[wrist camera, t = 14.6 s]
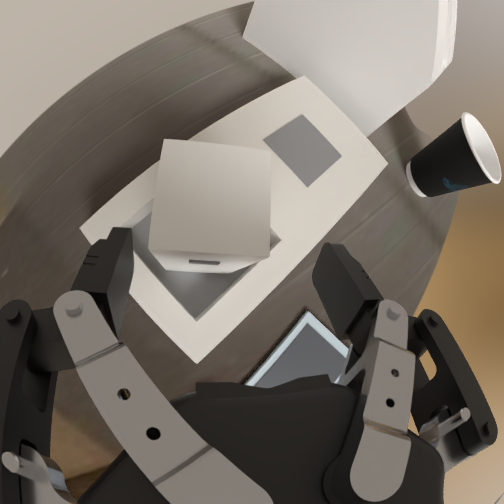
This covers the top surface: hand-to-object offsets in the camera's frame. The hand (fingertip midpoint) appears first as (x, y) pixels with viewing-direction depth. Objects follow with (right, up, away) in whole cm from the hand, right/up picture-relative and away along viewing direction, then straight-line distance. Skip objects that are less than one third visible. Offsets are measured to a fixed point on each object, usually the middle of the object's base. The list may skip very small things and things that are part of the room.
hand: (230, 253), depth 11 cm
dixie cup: (+22, +9, +17) cm, 29 cm away
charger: (-3, +1, +9) cm, 9 cm away
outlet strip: (+1, +5, +11) cm, 12 cm away
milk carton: (+11, +24, +17) cm, 32 cm away
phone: (+3, -12, +10) cm, 16 cm away
